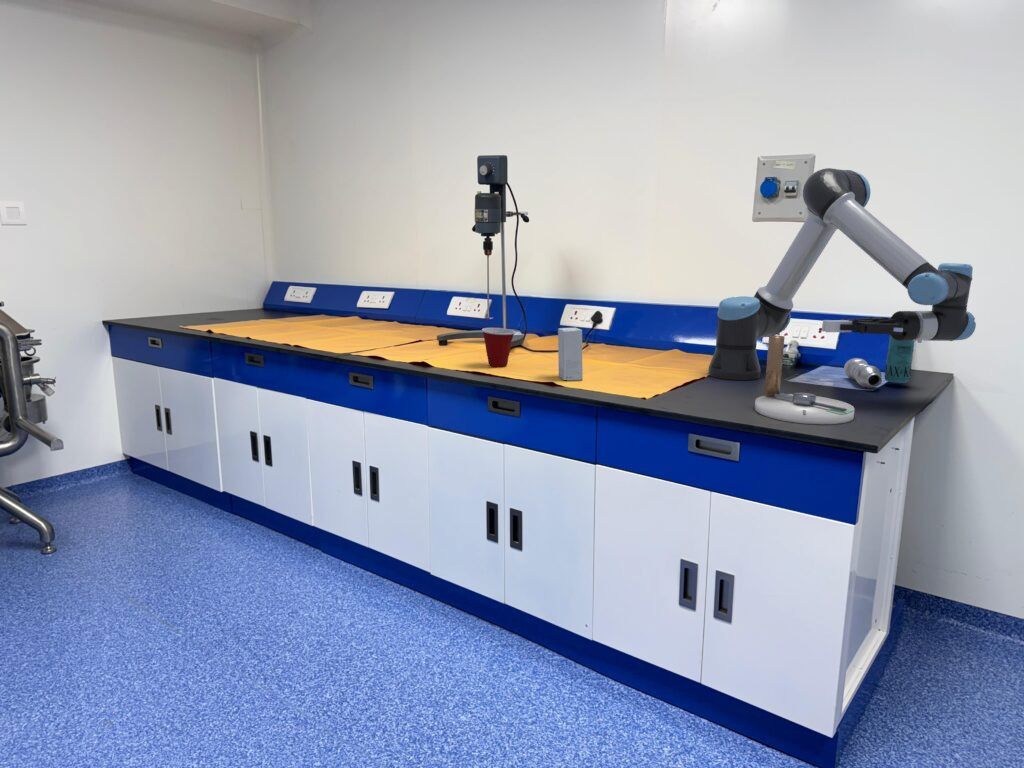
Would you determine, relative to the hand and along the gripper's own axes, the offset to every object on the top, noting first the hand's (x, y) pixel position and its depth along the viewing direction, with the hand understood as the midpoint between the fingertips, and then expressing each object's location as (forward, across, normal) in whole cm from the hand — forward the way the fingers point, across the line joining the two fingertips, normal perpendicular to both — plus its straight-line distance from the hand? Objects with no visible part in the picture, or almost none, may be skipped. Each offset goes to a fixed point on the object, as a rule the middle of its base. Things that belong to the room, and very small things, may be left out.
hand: (824, 326), depth 173 cm
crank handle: (+9, -8, -17) cm, 21 cm away
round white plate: (+9, -9, -20) cm, 23 cm away
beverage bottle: (-34, +17, -20) cm, 43 cm away
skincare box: (+55, +38, -21) cm, 71 cm away
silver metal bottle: (-29, +29, -17) cm, 45 cm away
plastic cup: (+74, +60, -22) cm, 98 cm away
